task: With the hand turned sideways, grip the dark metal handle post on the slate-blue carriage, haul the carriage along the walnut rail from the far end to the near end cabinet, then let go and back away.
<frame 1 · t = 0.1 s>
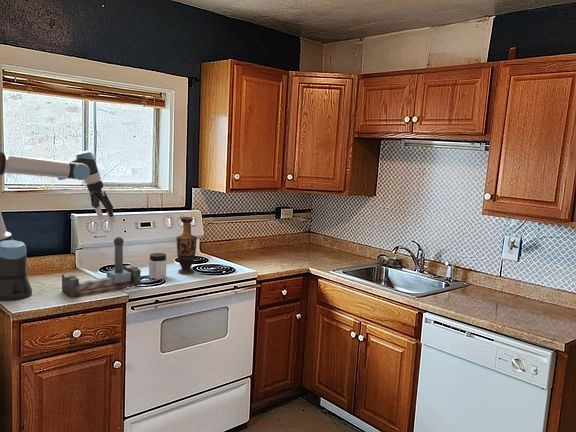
hand: (107, 220, 252), 28 cm above the counter, tool tilted 20°, fingers open, 13 cm apart
carriage: (118, 258, 231), point 13 cm above the counter, slide at 8.0 cm
jar: (157, 277, 251), on the counter
rail: (102, 288, 227), on the counter
vase: (186, 273, 263), on the counter
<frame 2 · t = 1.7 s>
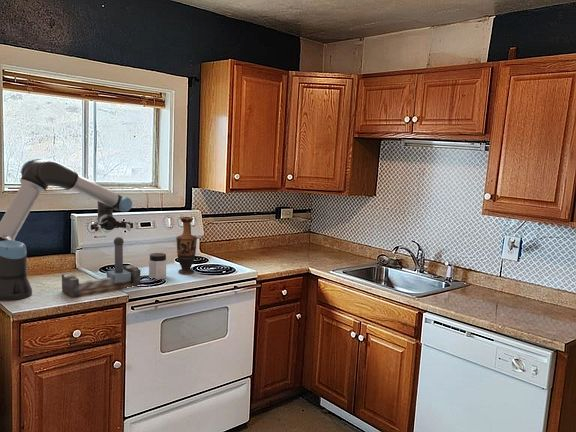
hand: (115, 228, 238), 26 cm above the counter, tool horizontal, fingers open, 13 cm apart
nothing on the counter moved.
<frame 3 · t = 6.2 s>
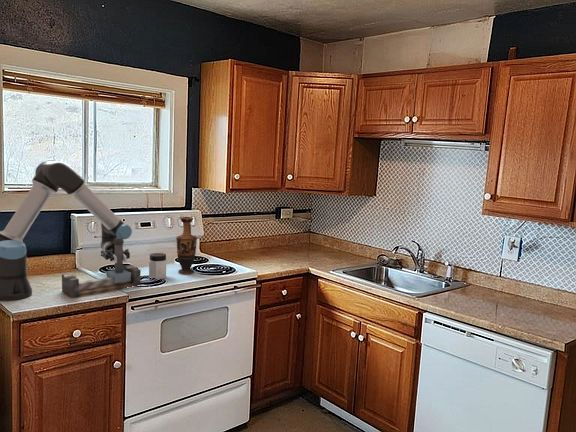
hand: (120, 259, 226), 14 cm above the counter, tool horizontal, fingers closed on carriage, 4 cm apart
carriage: (118, 258, 231), point 13 cm above the counter, slide at 8.0 cm, touching gripper
everything else where it was.
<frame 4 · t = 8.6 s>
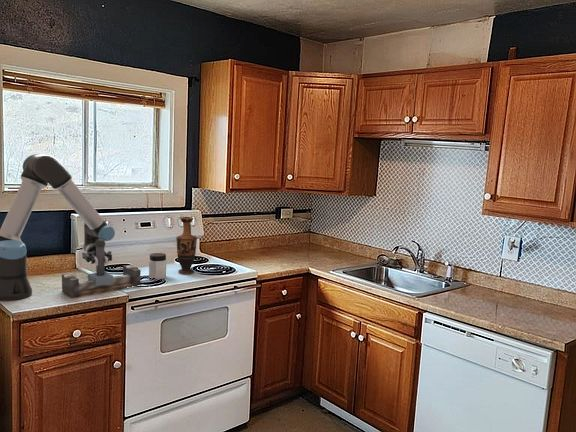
hand: (102, 262, 220), 14 cm above the counter, tool horizontal, fingers closed on carriage, 4 cm apart
carriage: (100, 261, 225), point 13 cm above the counter, slide at -0.8 cm, touching gripper
everything else where it was.
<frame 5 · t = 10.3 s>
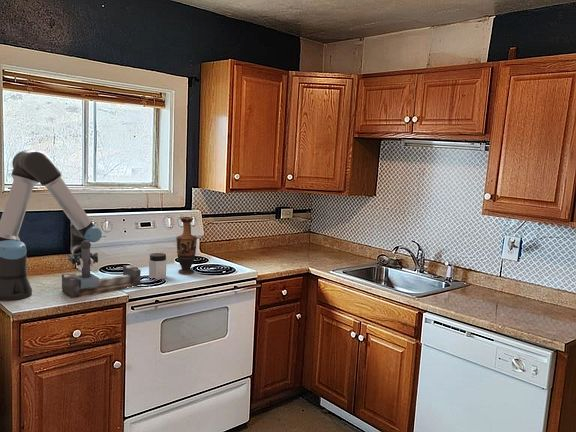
hand: (87, 264, 216), 14 cm above the counter, tool horizontal, fingers closed on carriage, 4 cm apart
carriage: (85, 262, 221), point 13 cm above the counter, slide at -7.5 cm, touching gripper
everything else where it was.
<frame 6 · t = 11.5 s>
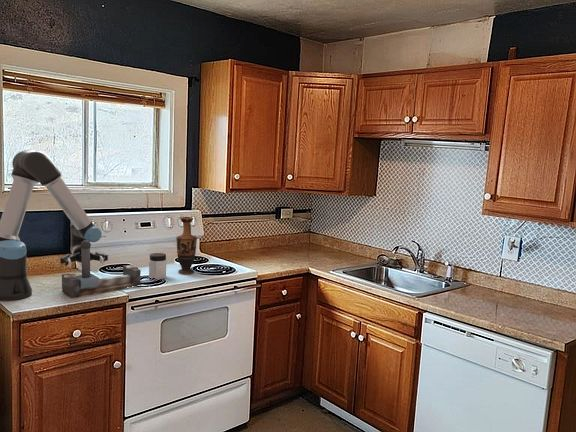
hand: (86, 263, 218), 14 cm above the counter, tool horizontal, fingers open, 13 cm apart
carriage: (85, 262, 221), point 13 cm above the counter, slide at -7.5 cm
everything else where it was.
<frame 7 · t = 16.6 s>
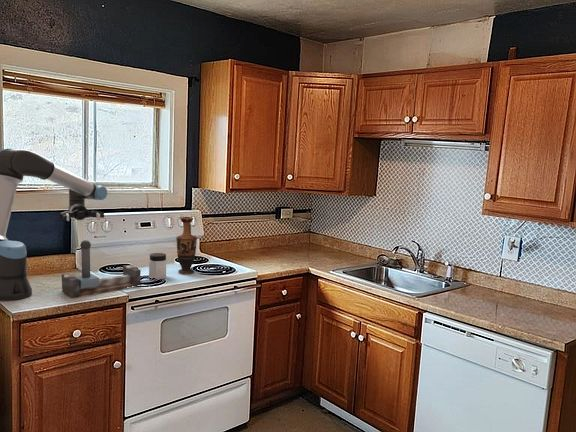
hand: (83, 217, 230), 32 cm above the counter, tool horizontal, fingers open, 13 cm apart
nothing on the counter moved.
at the end: carriage slide at -7.5 cm; the gripper is holding nothing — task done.
